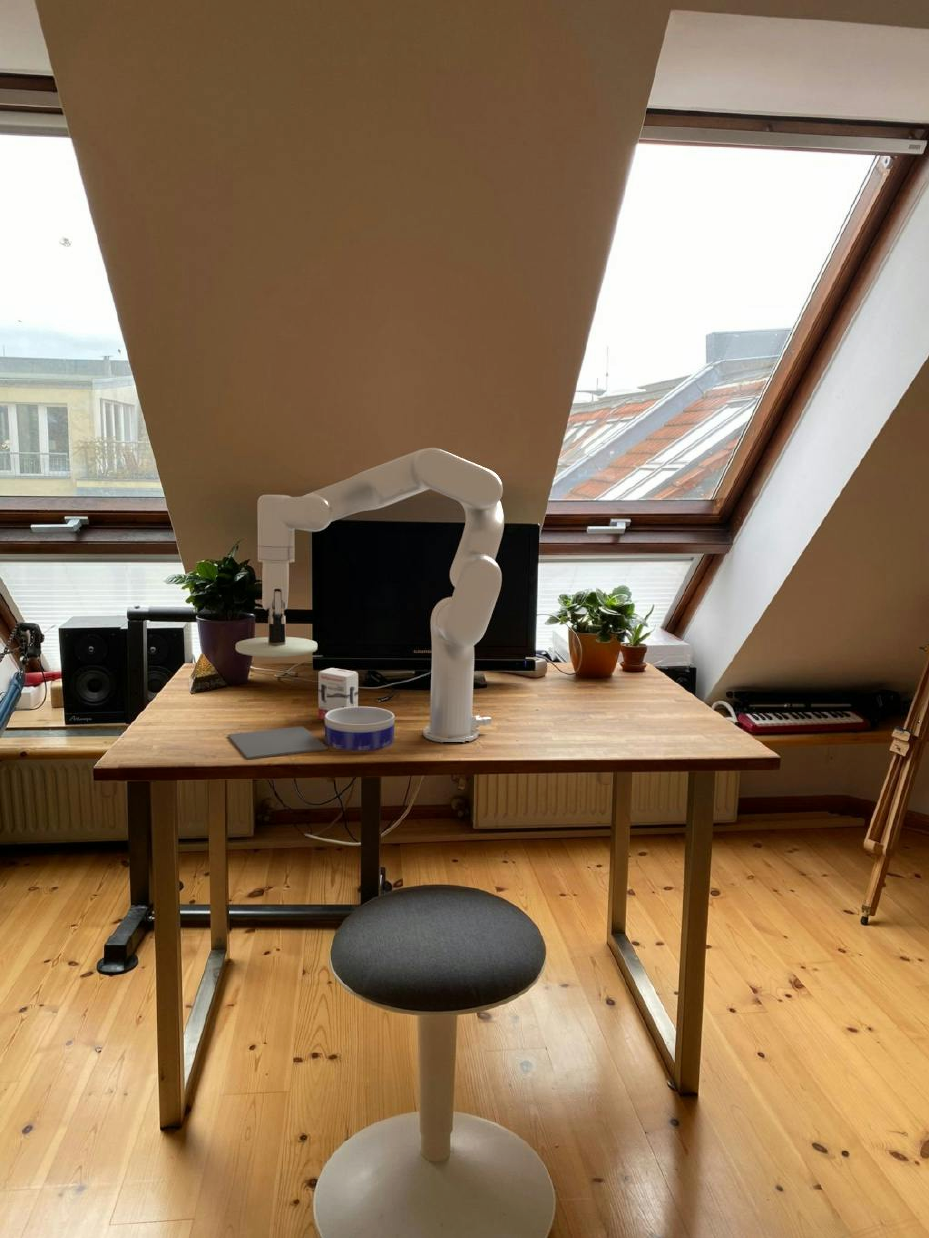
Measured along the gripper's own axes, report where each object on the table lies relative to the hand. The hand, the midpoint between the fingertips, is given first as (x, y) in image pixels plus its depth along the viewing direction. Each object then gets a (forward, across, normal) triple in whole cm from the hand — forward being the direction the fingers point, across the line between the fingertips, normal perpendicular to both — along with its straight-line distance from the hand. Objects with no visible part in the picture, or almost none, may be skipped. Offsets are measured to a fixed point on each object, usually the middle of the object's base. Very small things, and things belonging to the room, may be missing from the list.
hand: (276, 639), depth 183 cm
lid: (+2, 0, 0) cm, 2 cm away
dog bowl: (+23, +1, +18) cm, 29 cm away
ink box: (+23, -16, +15) cm, 32 cm away
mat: (+23, 0, 0) cm, 23 cm away
